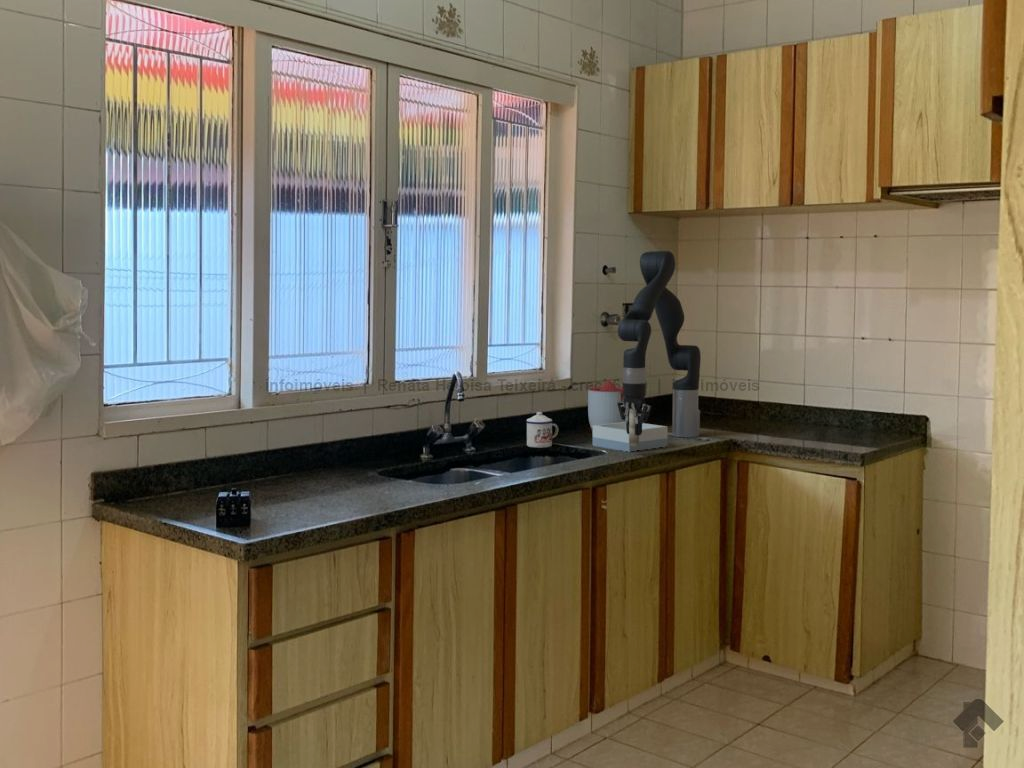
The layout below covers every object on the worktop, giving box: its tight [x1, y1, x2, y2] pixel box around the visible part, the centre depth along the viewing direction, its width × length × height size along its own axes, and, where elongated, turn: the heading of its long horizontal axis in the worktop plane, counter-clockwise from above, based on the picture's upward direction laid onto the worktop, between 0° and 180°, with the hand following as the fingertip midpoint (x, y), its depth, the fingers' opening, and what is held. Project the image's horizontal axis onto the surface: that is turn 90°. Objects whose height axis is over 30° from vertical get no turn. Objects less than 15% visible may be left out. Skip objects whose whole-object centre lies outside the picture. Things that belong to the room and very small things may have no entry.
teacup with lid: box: [525, 411, 559, 449], centre depth 357 cm, size 12×9×12 cm
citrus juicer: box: [587, 380, 625, 433], centre depth 384 cm, size 16×17×20 cm
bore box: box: [592, 422, 669, 453], centre depth 355 cm, size 18×18×7 cm
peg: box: [629, 409, 639, 446], centre depth 336 cm, size 3×3×12 cm
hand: (634, 434), depth 336 cm, fingers closed on peg, 3 cm apart
